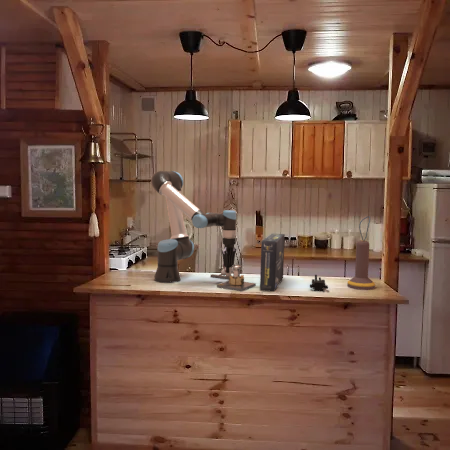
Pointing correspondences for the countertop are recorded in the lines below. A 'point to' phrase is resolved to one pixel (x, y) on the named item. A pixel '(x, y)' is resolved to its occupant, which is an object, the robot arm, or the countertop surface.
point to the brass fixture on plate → (236, 287)
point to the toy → (318, 284)
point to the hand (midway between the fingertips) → (228, 278)
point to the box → (272, 262)
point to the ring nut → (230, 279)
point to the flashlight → (362, 266)
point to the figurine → (225, 270)
